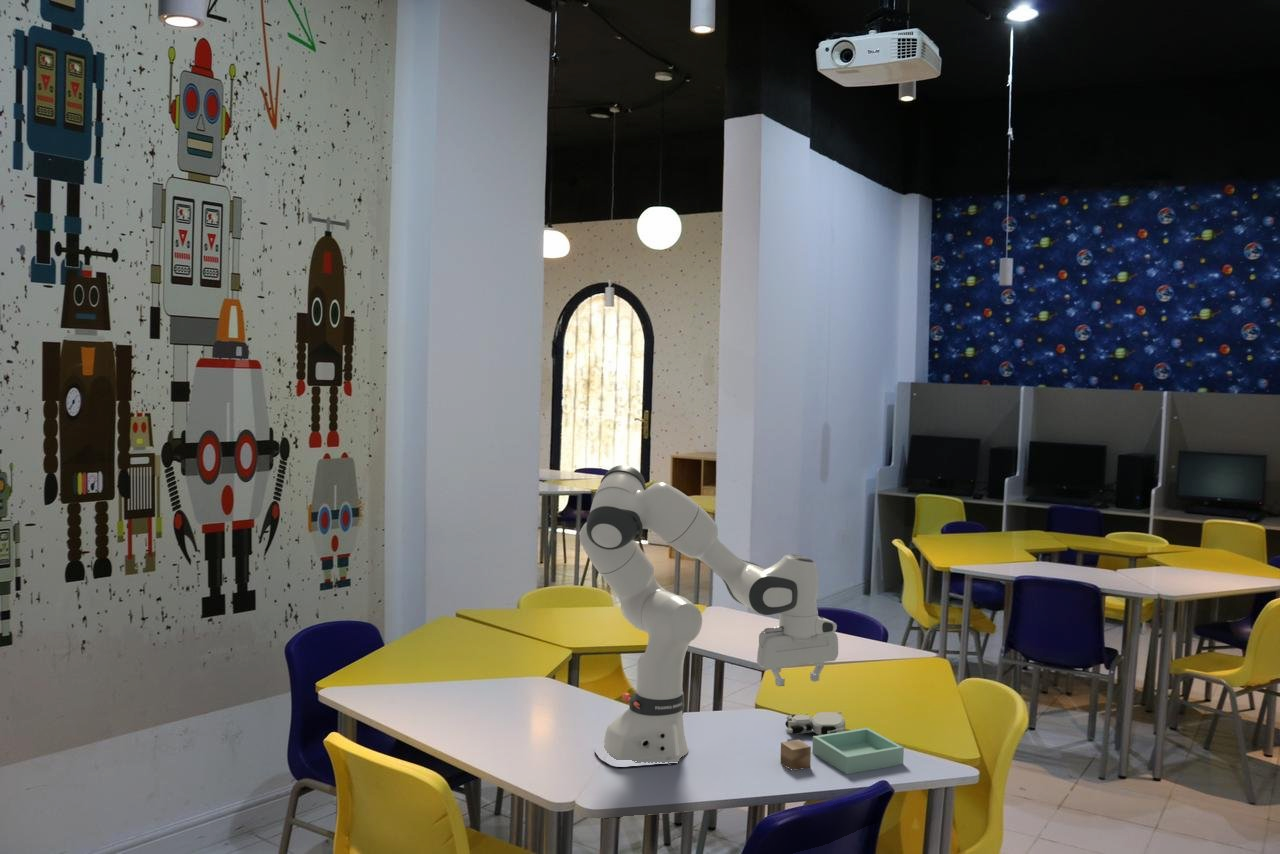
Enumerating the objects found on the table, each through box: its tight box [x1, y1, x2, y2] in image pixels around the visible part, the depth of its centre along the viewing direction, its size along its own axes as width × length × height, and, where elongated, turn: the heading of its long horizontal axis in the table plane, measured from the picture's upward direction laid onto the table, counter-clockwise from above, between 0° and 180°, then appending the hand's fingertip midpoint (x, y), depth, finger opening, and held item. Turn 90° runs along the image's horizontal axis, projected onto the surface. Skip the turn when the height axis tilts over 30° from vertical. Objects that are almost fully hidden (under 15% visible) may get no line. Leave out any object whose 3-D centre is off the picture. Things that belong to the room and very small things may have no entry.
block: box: [780, 739, 812, 771], centre depth 237 cm, size 5×5×5 cm
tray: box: [811, 727, 905, 775], centre depth 241 cm, size 16×14×4 cm
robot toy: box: [785, 711, 846, 736], centre depth 258 cm, size 12×4×15 cm
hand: (797, 683), depth 236 cm, fingers open, 8 cm apart
